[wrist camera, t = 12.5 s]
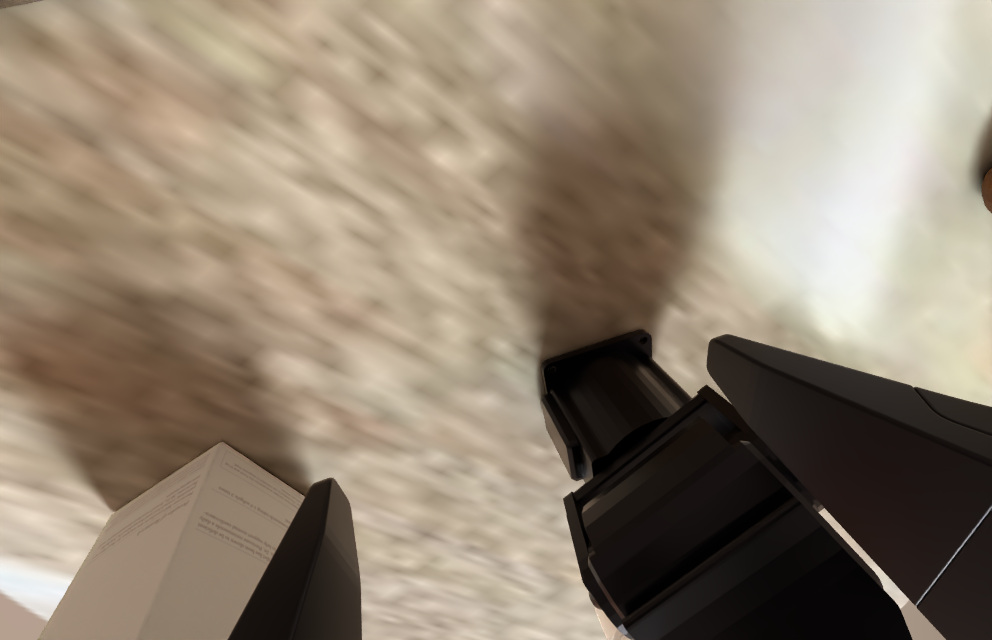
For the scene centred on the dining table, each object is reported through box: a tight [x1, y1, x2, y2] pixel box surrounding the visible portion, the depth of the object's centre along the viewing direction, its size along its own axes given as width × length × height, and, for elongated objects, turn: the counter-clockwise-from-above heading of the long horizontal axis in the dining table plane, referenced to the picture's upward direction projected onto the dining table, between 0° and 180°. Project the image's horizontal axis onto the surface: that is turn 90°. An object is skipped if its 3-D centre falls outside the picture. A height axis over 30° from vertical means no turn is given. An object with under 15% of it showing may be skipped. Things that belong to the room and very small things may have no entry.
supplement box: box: [38, 442, 305, 640], centre depth 18 cm, size 7×7×13 cm
